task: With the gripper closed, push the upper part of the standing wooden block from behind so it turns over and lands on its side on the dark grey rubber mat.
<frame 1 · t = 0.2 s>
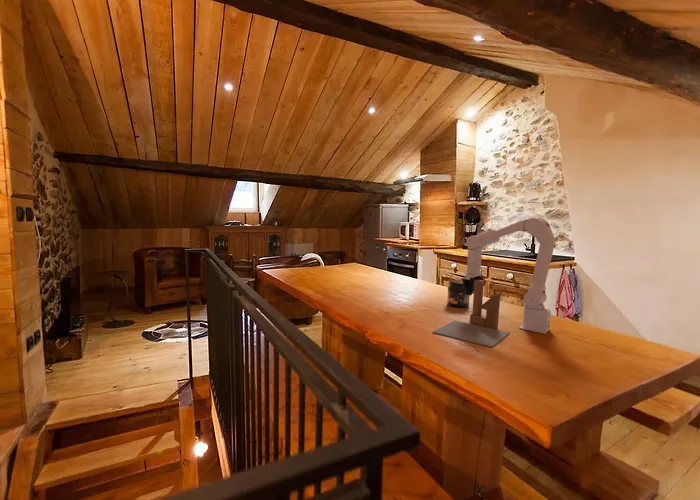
hand: (472, 293, 162), 10 cm above the table, tool pointing down, fingers open, 7 cm apart
wooden block: (483, 326, 150), on the table
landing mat: (471, 333, 139), on the table
supplement container: (457, 305, 181), on the table
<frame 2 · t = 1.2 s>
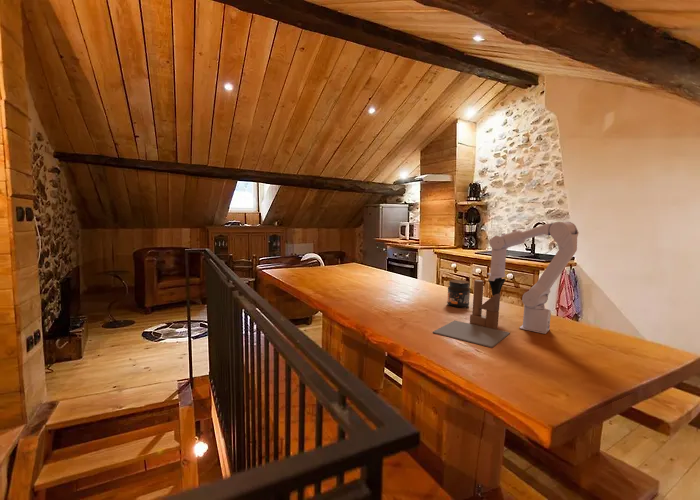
hand: (495, 295, 158), 10 cm above the table, tool pointing down, fingers closed
nothing on the table moved.
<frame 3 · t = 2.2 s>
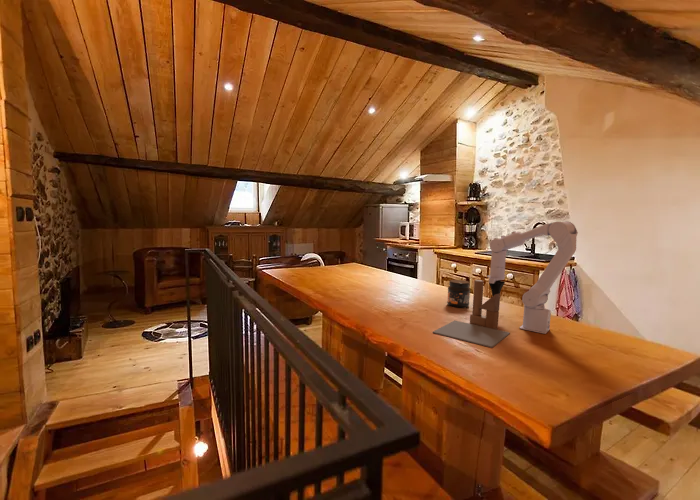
hand: (495, 297, 158), 9 cm above the table, tool pointing down, fingers closed
nothing on the table moved.
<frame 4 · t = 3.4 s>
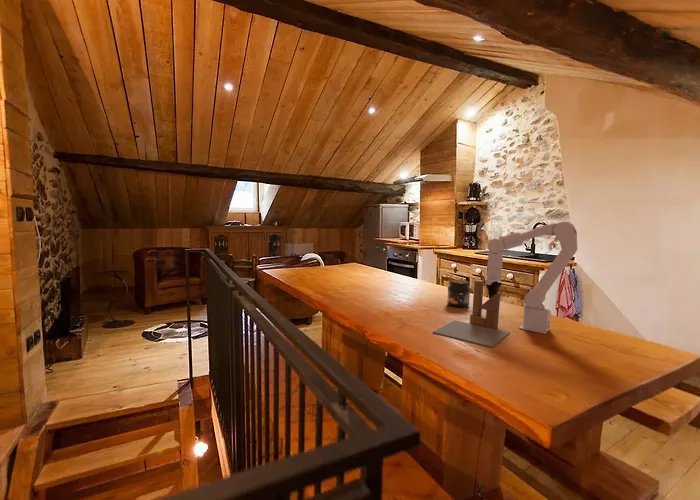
hand: (492, 299, 155), 9 cm above the table, tool pointing down, fingers closed
nothing on the table moved.
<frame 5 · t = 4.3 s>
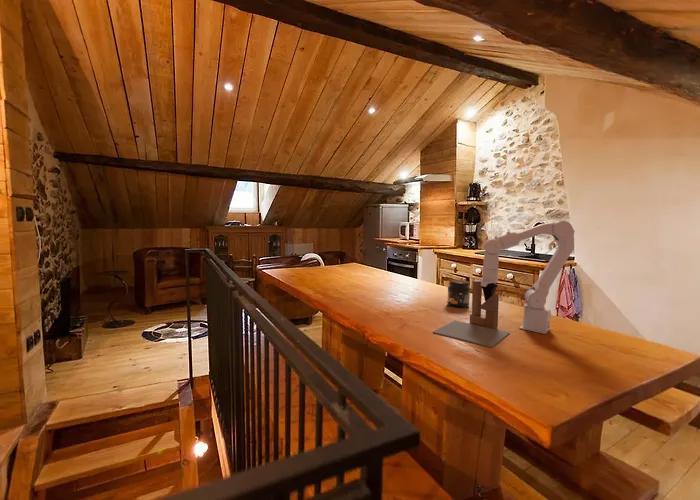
hand: (488, 301, 151), 9 cm above the table, tool pointing down, fingers closed
wooden block: (483, 325, 150), on the table, touching gripper
everything else where it was.
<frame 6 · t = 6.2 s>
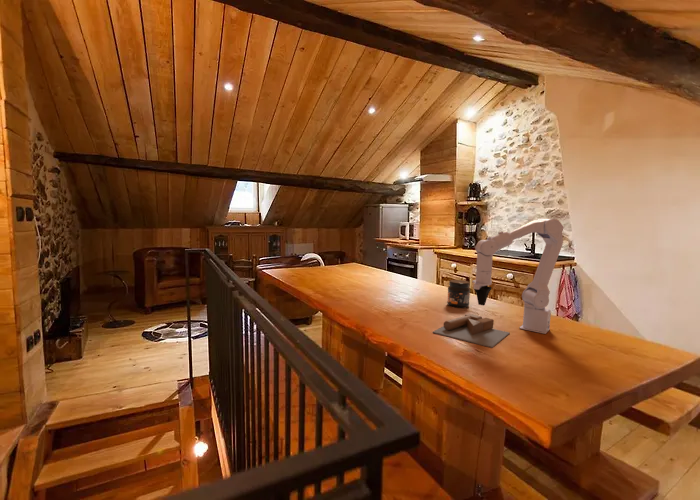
hand: (481, 304, 145), 9 cm above the table, tool pointing down, fingers closed
wooden block: (481, 320, 149), point 2 cm above the table, touching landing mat
everything else where it was.
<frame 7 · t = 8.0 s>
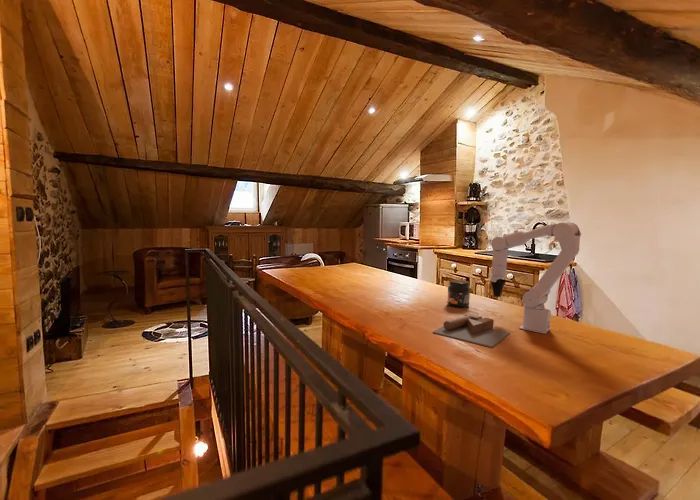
hand: (497, 296, 157), 10 cm above the table, tool pointing down, fingers closed
nothing on the table moved.
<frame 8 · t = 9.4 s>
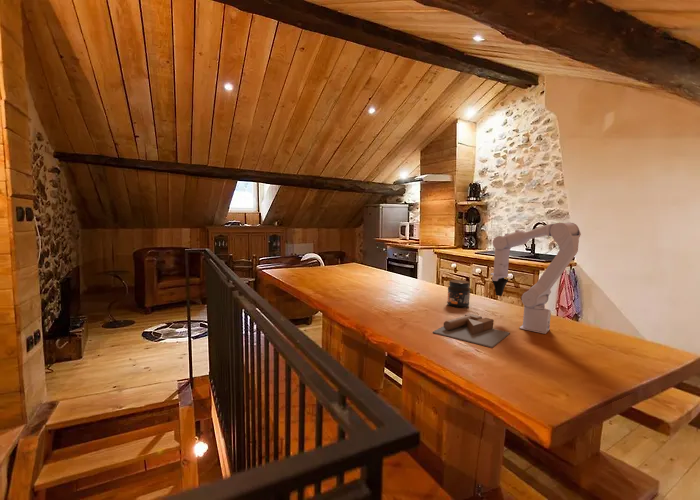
hand: (498, 295, 159), 10 cm above the table, tool pointing down, fingers closed
nothing on the table moved.
at the end: wooden block tilted 90°; wooden block touching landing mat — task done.
